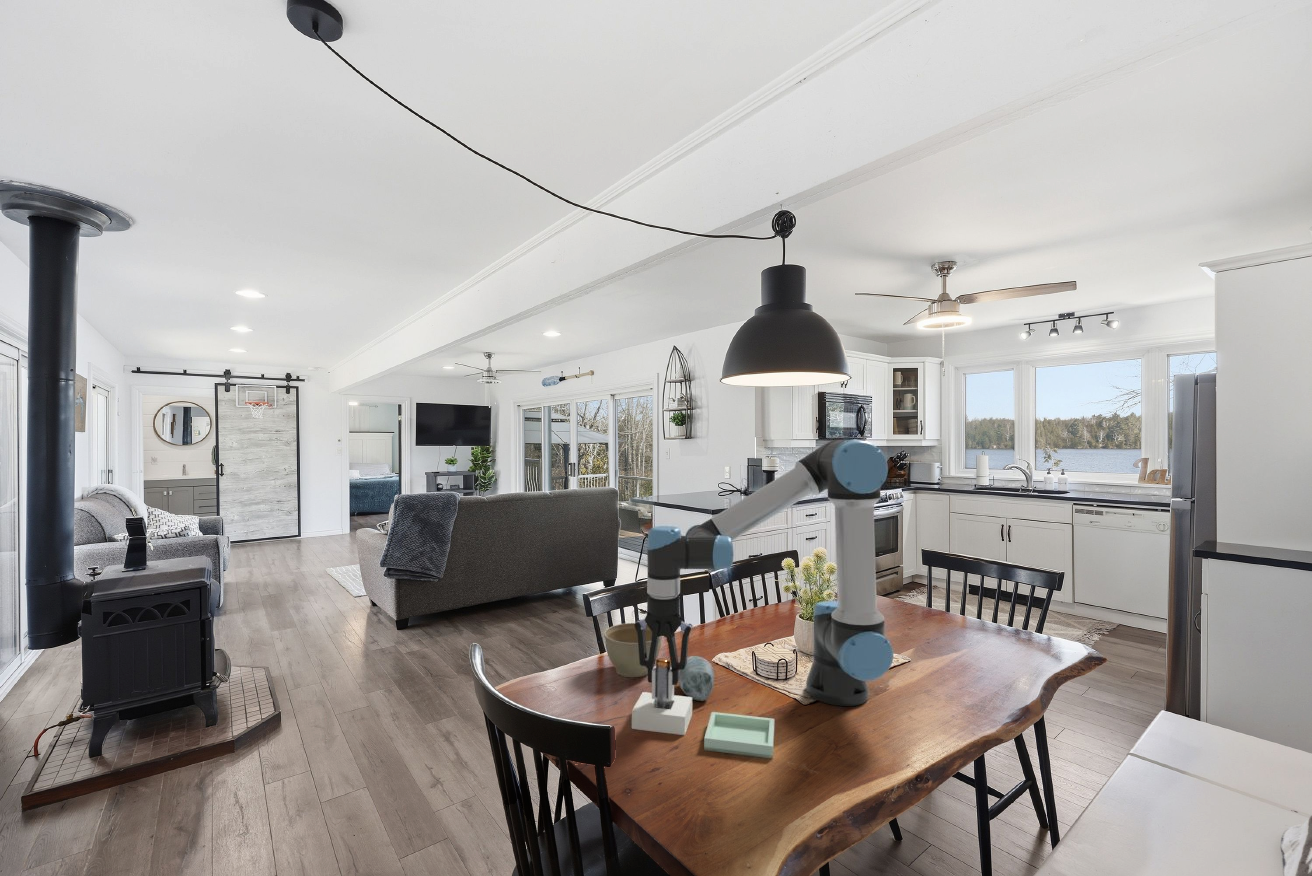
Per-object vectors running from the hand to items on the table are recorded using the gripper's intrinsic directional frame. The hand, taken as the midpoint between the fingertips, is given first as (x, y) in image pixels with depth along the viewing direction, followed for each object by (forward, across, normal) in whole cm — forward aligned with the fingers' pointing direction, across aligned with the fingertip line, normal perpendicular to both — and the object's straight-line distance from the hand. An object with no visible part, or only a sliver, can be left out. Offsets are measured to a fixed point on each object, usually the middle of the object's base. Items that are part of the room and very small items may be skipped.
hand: (662, 697), depth 135 cm
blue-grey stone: (+6, -5, -17) cm, 19 cm away
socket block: (+6, 0, 0) cm, 6 cm away
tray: (+6, -18, +4) cm, 19 cm away
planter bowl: (+6, +14, -26) cm, 30 cm away
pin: (+6, 0, 0) cm, 6 cm away
